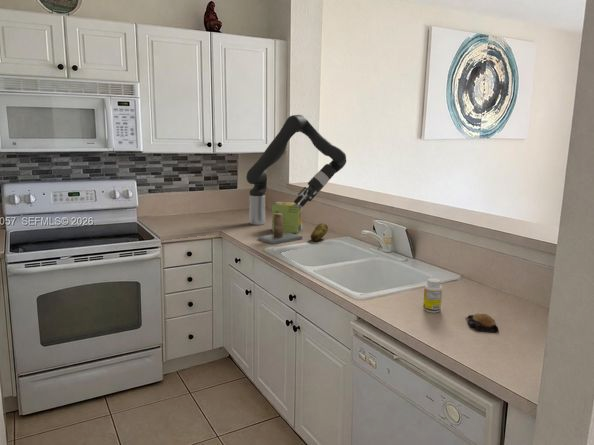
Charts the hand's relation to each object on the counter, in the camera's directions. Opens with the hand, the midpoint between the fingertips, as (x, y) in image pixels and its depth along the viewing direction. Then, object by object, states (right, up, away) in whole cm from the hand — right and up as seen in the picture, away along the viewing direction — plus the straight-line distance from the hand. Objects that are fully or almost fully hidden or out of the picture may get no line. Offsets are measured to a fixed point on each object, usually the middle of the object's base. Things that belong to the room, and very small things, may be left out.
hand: (297, 204), depth 250 cm
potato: (+11, -19, +1) cm, 22 cm away
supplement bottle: (+43, -38, -94) cm, 110 cm away
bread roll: (+55, -41, -105) cm, 125 cm away
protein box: (-6, -14, +22) cm, 27 cm away
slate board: (-9, -18, +1) cm, 20 cm away
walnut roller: (-10, -17, 0) cm, 20 cm away
